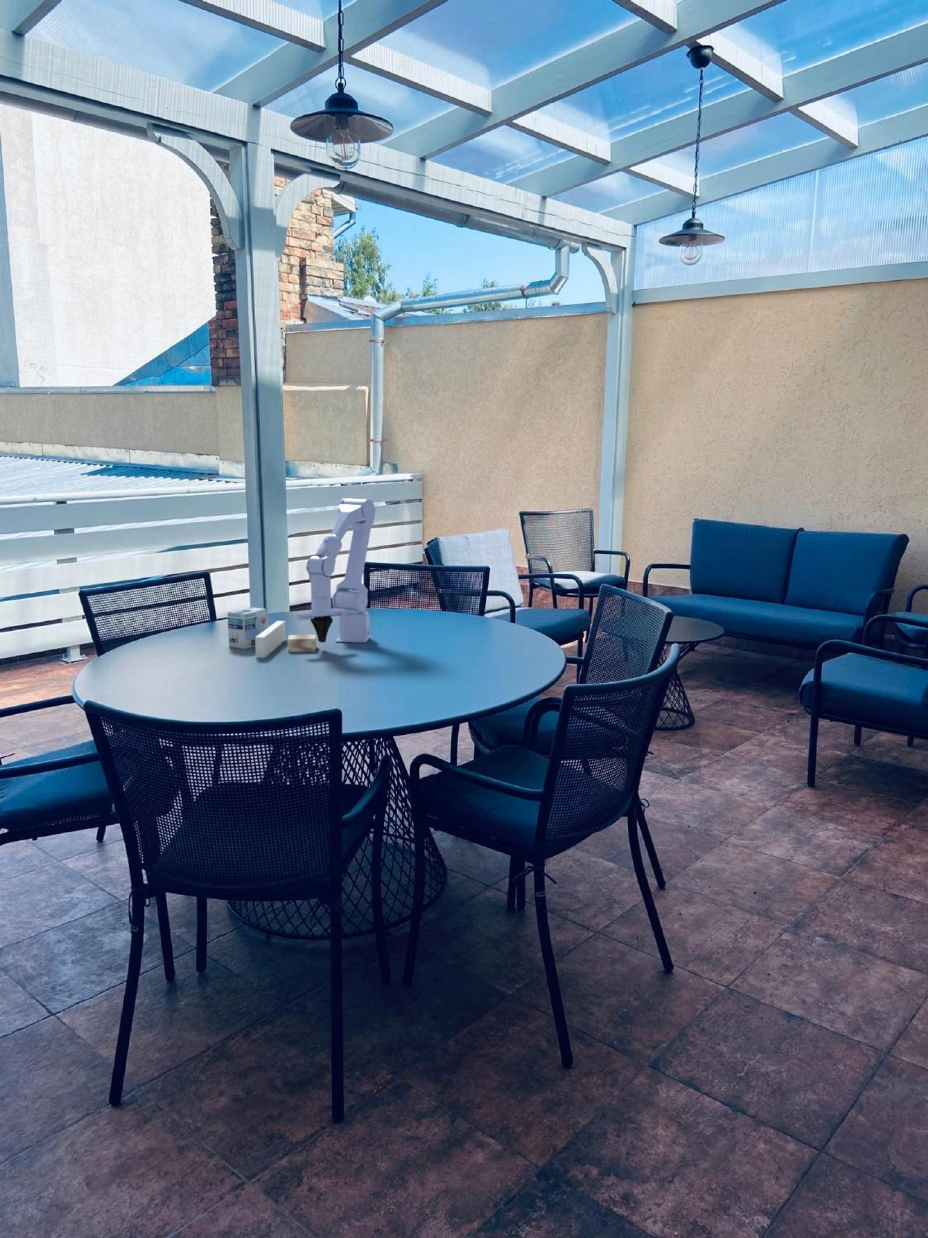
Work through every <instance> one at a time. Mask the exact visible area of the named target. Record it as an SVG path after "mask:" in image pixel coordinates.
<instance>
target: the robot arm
mask: <svg viewBox="0 0 928 1238" xmlns="http://www.w3.org/2000/svg"><path fill="white" fill-rule="evenodd" d="M337 511H338V512H337V513H338V517H337V519H336V521H335V524H334V526H333V528H332V530H331V533H330V535H326V536H325V537H324V538H323V540H322V542H321V543H320V545H319V547H318V549H317V551H316V553H315V555H313V556H311V557H310V558H308V560H307V561H306V567H305V568H306V572H307V574H308V580H309V581H310V597H311V600H310V601H311V610H308V611H307V610H306V611H304V612H302V611H301V612H297V613H296V615H297V616H296V618H297V619H296V620H297V621H304V620H310V622H311V624H312V626H313V628H314V630H315V633H316V637H317V640H318V642H319V643H320V644H321V643H326V641H327V637H328V633H329V629H330V628H331V625H332V624H333V617H338V637H337V638H336V639H335V643H367V642H368V640H369V639H370V638H371V634H370V633H371V632H370V631H371V630H370V614H369V612H365V610H366V608H367V606H368V601H369V599H368V592H369V590H368V588H367V587H366V586H365V585H364V584H363V581H362V580H363V575H364V569H365V563H366V557H367V552H368V548H369V547H368V546H369V541H370V535H371V530H372V528H373V527H374V523H375V517H376V511H377V509H376V507H375V504H374V501H373V500H372V499H371V498H349V497H343V498H342V499H341V500H340V503H339V505H338V508H337ZM350 528H351V530H352V537H351V541H350V548H349V553H348V558H347V564H346V569H345V575H344V579H343V580H342V581H340V582H339V583H338V584H337V585H336V589H335V591H334V593H333V594H332V591H331V590H332V589H331V588H332V587H331V586H332V585H331V579H332V578H331V576H332V575H333V573H334V572H335V566H336V558H337V556H338V555H339V553H340V551H341V549H342V547H343V544H342V539H343V538H344V536H346V533H347V532H348V530H349V529H350ZM332 605H333V607H334V608H332Z"/></svg>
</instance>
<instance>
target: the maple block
mask: <svg viewBox="0 0 928 1238" xmlns="http://www.w3.org/2000/svg"><path fill="white" fill-rule="evenodd" d="M316 649H317V634H289V635H288V637H287V653H293V652H294V653H298V652H299V653H300V652H305V653H306V652H309V653H310V652H316Z"/></svg>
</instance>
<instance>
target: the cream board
mask: <svg viewBox="0 0 928 1238" xmlns="http://www.w3.org/2000/svg"><path fill="white" fill-rule="evenodd" d="M286 640H287V638H286V620H276V621H274V623H272V624H271V625H269V626H268V627H267V629H266V630H264V631H263V632H262V633H260V634H259V635H258V636H256V637H255V646H254V648H255V658H256V659H265V658H266V657H268V656H269V655H270V654H271V653H272V652H273V651H274V650H276V649H278V648H279V646H281V644H283V643H284V642H285V641H286ZM282 642H283V643H282ZM269 653H270V654H269Z"/></svg>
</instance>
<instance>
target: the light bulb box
mask: <svg viewBox="0 0 928 1238" xmlns="http://www.w3.org/2000/svg"><path fill="white" fill-rule="evenodd" d="M267 623H268V621H267V609H266V608H262V607H261V608H260V607H254V606H248V607H245V608H244V607H243V608H240V609H237V610H231V611H228V612H227V625H228V626H227V627H228V628H227V629H228V630H227V631H228V632H227V633H228V634H227V635H228V648H237V649H244V650H247V649H250V648H253V647H254V648H255V637H256V636H258V635H259V634H260V633H262V632H263V631H264V630H266V629H267V628H268V627H267V626H268V625H267Z"/></svg>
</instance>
